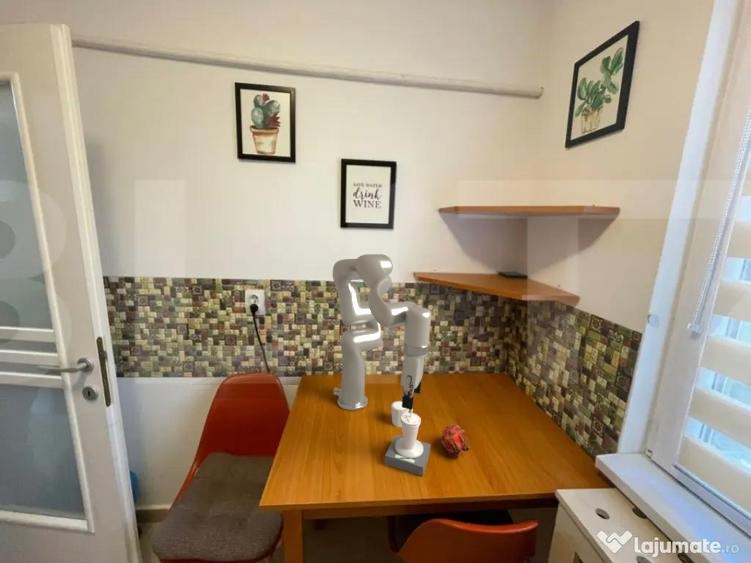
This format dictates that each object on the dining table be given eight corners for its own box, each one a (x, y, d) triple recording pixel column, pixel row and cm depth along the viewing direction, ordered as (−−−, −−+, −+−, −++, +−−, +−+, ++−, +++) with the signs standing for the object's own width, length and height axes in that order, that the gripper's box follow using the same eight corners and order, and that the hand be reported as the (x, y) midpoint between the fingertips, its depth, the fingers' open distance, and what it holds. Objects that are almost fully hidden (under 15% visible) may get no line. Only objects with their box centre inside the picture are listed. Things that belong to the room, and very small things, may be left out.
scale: (384, 464, 96) (385, 453, 96) (395, 442, 107) (395, 432, 106) (422, 476, 92) (423, 465, 92) (430, 452, 102) (430, 442, 102)
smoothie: (420, 442, 101) (423, 402, 99) (416, 455, 96) (419, 413, 93) (401, 437, 104) (404, 398, 101) (396, 449, 98) (399, 408, 95)
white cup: (389, 417, 121) (390, 400, 120) (406, 417, 122) (407, 400, 120) (391, 428, 114) (392, 410, 113) (410, 428, 115) (411, 410, 114)
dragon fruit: (451, 440, 111) (457, 470, 100) (433, 428, 110) (437, 456, 99) (468, 426, 109) (476, 455, 97) (449, 413, 108) (455, 440, 96)
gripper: (410, 337, 103) (407, 384, 106) (395, 356, 87) (391, 411, 90) (433, 341, 101) (428, 389, 104) (421, 361, 85) (416, 418, 88)
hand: (411, 399), depth 97 cm, fingers open, 9 cm apart
